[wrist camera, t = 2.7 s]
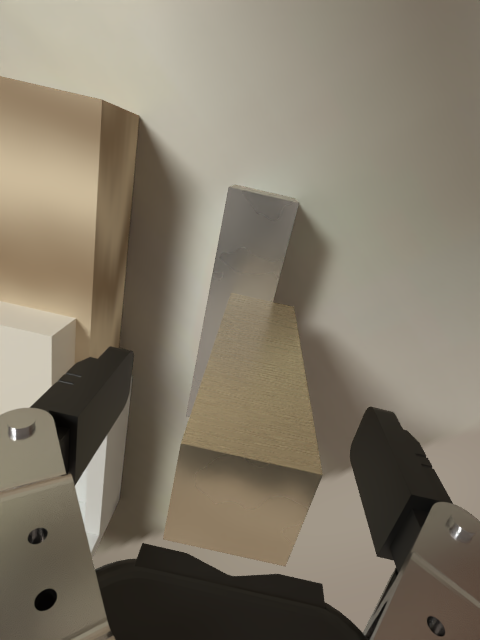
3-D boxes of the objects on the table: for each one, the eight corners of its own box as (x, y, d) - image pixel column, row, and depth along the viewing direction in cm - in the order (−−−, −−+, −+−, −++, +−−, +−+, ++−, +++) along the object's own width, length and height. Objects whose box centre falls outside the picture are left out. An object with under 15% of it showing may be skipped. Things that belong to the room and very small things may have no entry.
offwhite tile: (-31, 294, 16) (-69, 309, 15) (76, 318, 16) (51, 336, 15) (-22, 384, 18) (-55, 407, 17) (73, 405, 18) (51, 431, 17)
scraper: (196, 386, 22) (109, 634, 10) (235, 184, 18) (159, 210, 6) (259, 400, 22) (245, 664, 10) (314, 202, 18) (407, 267, 6)
